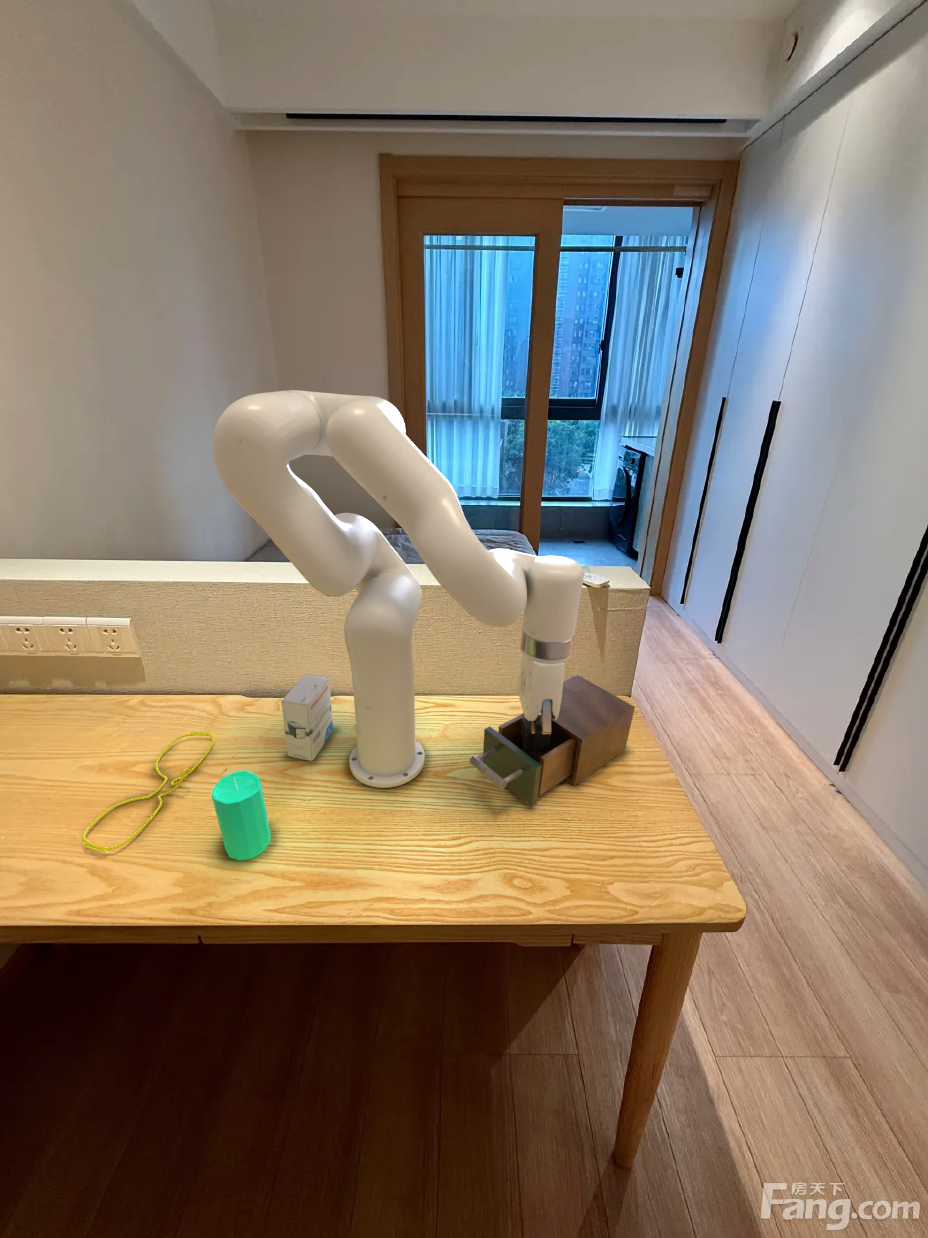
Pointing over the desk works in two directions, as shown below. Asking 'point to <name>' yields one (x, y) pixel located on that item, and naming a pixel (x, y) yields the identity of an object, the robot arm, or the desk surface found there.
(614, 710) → the cabinet
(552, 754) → the drawer
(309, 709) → the ink box
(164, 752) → the yellow rope loop
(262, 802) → the candle
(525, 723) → the block
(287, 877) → the desk surface
